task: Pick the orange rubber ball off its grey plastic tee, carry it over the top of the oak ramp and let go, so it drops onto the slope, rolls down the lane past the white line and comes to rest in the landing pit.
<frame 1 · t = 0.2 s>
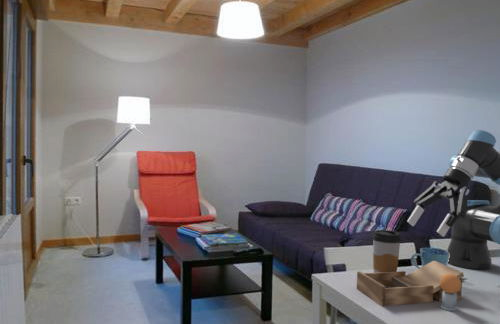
hand: (424, 228, 136), 16 cm above the table, tool tilted 35°, fingers open, 13 cm apart
coffee cup: (384, 281, 134), on the table
lane: (409, 294, 123), on the table
tee: (448, 308, 113), on the table
ball: (450, 283, 113), point 6 cm above the table, touching tee
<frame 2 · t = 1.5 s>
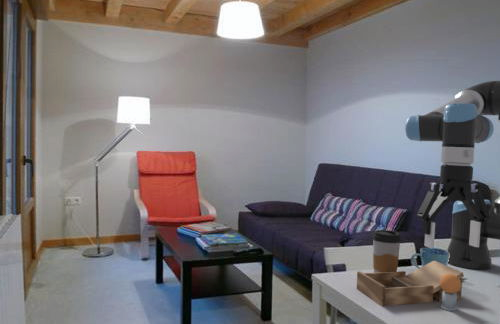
hand: (451, 246, 112), 16 cm above the table, tool pointing down, fingers open, 13 cm apart
nothing on the table moved.
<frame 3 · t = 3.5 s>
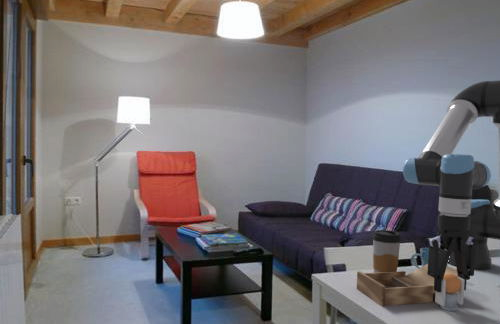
hand: (449, 302, 113), 1 cm above the table, tool pointing down, fingers closed on ball, 5 cm apart
ball: (450, 283, 113), point 6 cm above the table, touching gripper, tee
everything else where it was.
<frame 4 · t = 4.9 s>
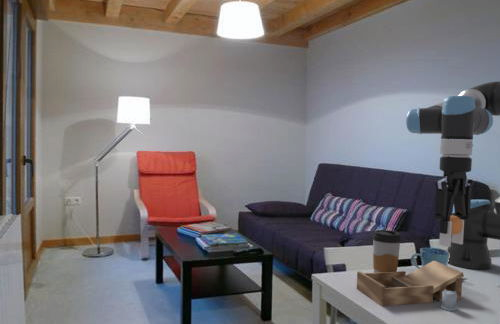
hand: (451, 244, 114), 16 cm above the table, tool pointing down, fingers closed on ball, 5 cm apart
ball: (452, 224, 114), point 21 cm above the table, touching gripper
everything else where it was.
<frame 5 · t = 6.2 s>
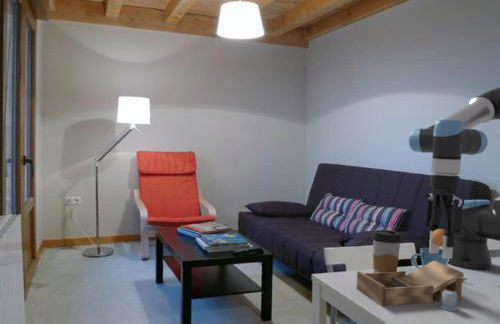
hand: (440, 255, 124), 11 cm above the table, tool pointing down, fingers closed on ball, 5 cm apart
ball: (441, 237, 124), point 16 cm above the table, touching gripper
everything else where it was.
when the fingers open (8 cm above the table, at t = 6.8 s): ball drops 10 cm and tips over, resting on lane.
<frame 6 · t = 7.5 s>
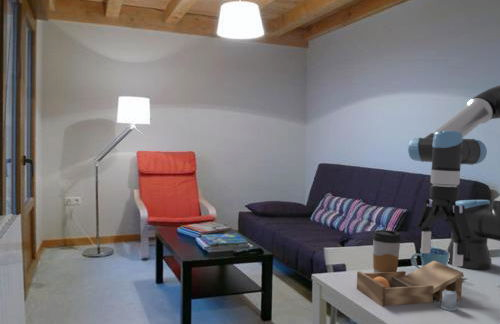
hand: (440, 259, 124), 10 cm above the table, tool pointing down, fingers open, 13 cm apart
ball: (380, 285, 120), point 3 cm above the table, tilted 123°, touching lane
everything else where it was.
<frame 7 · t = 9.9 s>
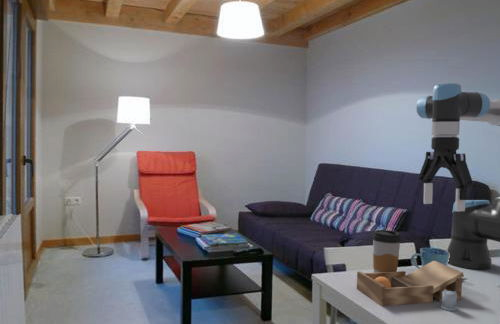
hand: (443, 207, 131), 24 cm above the table, tool pointing down, fingers open, 13 cm apart
ball: (381, 285, 120), point 3 cm above the table, tilted 111°, touching lane
everything else where it was.
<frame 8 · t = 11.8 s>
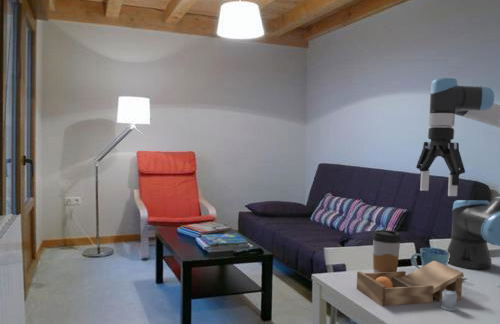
hand: (437, 193, 140), 27 cm above the table, tool pointing down, fingers open, 13 cm apart
ball: (383, 285, 120), point 3 cm above the table, tilted 101°, touching lane
everything else where it was.
at the end: ball inside the target area on the lane (1.3 cm from its centre), point 2.8 cm above the lane's base; the gripper is holding nothing; ball moved 17.1 cm from its start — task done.
